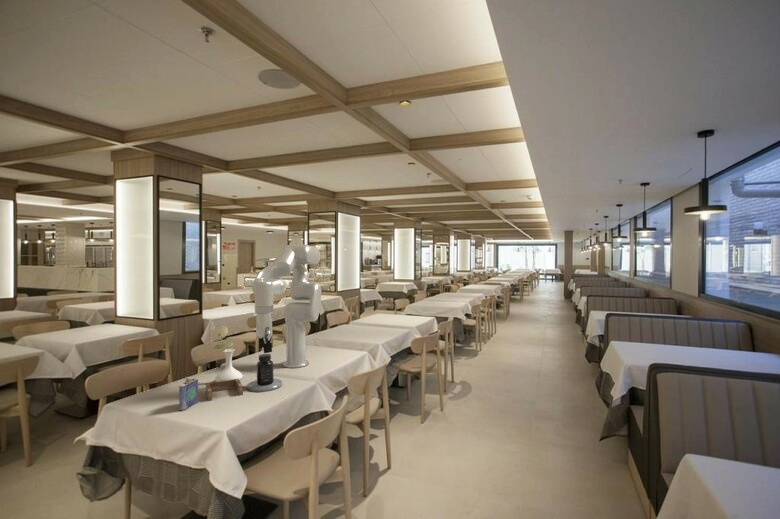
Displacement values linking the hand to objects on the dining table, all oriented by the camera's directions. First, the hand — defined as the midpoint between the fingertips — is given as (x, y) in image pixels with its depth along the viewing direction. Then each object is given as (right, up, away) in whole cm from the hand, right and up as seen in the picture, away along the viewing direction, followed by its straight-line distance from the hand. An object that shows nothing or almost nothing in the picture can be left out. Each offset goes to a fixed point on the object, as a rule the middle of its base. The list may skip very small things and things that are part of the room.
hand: (265, 349), depth 164 cm
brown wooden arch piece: (-13, -15, -9) cm, 22 cm away
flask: (-21, -16, -22) cm, 34 cm away
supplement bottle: (0, -14, 0) cm, 14 cm away
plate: (0, -15, -1) cm, 15 cm away
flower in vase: (-19, -16, +6) cm, 25 cm away
